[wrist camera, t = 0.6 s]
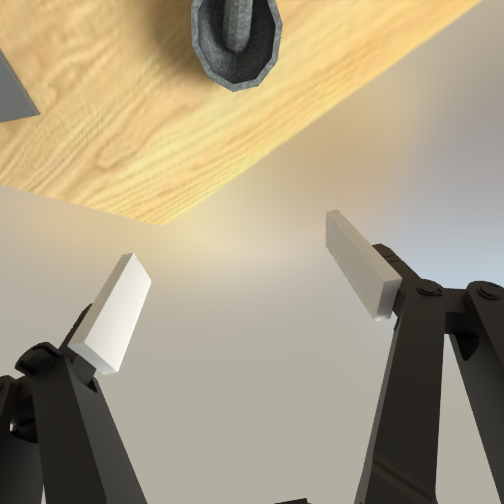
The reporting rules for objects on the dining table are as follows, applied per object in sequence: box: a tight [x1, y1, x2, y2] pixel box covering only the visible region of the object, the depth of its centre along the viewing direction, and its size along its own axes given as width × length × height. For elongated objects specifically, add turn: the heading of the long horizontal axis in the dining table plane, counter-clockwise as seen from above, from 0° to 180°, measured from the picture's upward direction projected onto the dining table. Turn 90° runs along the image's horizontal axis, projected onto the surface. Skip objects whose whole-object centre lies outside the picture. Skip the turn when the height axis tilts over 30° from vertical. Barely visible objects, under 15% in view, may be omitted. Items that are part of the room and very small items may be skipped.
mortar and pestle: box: [191, 0, 283, 92], centre depth 24 cm, size 11×9×12 cm
